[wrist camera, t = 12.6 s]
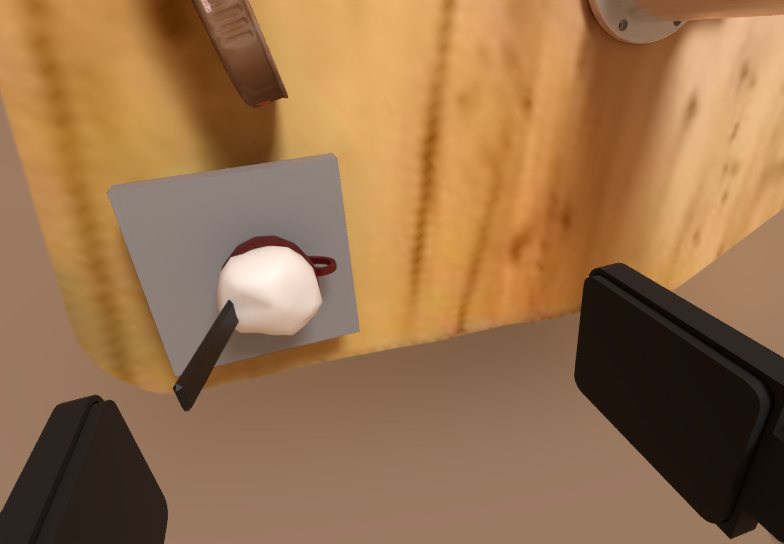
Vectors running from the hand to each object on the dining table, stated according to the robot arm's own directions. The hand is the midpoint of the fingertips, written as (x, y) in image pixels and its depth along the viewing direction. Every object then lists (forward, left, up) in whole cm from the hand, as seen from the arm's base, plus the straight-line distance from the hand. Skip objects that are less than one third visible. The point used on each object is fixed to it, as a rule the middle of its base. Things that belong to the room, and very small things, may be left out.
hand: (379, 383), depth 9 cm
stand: (+3, +8, -29) cm, 30 cm away
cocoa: (+2, +8, -24) cm, 25 cm away
